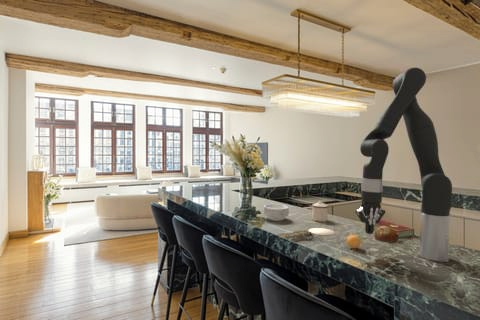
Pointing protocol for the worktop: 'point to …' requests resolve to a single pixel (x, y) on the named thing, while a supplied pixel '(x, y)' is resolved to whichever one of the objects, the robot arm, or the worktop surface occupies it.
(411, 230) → the hardcover book
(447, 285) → the worktop surface
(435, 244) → the robot arm
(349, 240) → the ball
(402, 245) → the worktop surface
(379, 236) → the bread roll
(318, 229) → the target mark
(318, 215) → the teacup with lid
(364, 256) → the worktop surface
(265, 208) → the paper bowls
